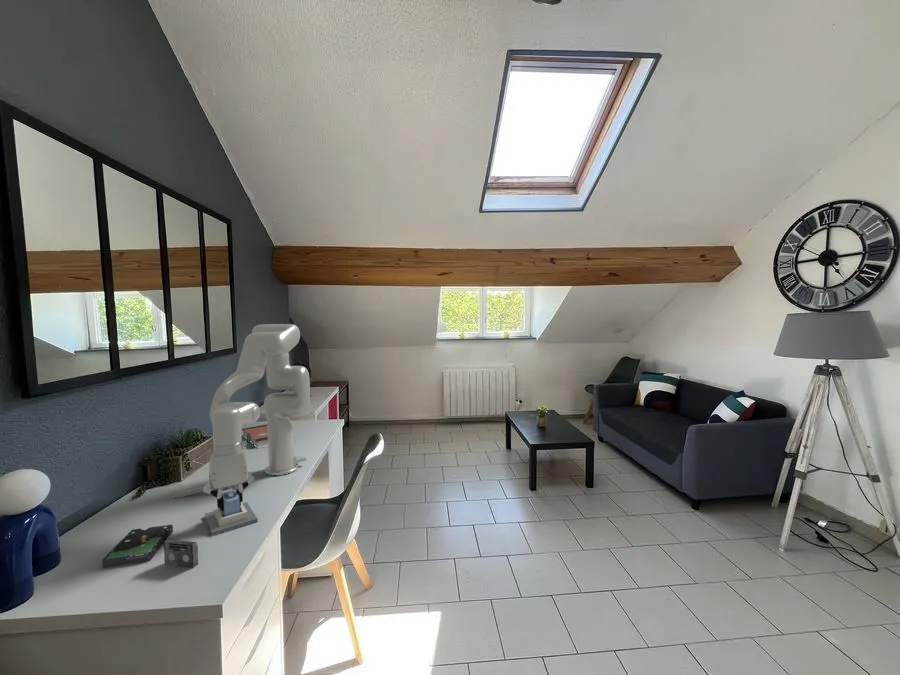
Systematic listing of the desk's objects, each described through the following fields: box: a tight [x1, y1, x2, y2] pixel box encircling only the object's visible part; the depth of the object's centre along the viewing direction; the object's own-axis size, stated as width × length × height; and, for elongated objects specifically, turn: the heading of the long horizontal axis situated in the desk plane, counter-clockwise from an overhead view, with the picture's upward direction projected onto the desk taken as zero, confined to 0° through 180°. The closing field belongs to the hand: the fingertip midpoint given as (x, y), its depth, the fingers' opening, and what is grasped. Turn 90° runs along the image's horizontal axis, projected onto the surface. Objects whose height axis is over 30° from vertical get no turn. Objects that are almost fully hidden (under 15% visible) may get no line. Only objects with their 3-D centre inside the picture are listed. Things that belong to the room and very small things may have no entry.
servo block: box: [222, 488, 240, 517], centre depth 121 cm, size 4×9×6 cm, turn 39°
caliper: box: [171, 485, 237, 499], centre depth 139 cm, size 20×1×6 cm, turn 106°
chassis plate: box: [203, 502, 259, 536], centre depth 121 cm, size 12×14×3 cm
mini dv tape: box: [163, 539, 199, 569], centre depth 99 cm, size 8×2×6 cm, turn 81°
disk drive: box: [102, 524, 174, 569], centre depth 106 cm, size 10×3×15 cm
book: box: [241, 424, 268, 447], centre depth 202 cm, size 26×18×5 cm
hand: (230, 506), depth 121 cm, fingers closed on servo block, 4 cm apart
